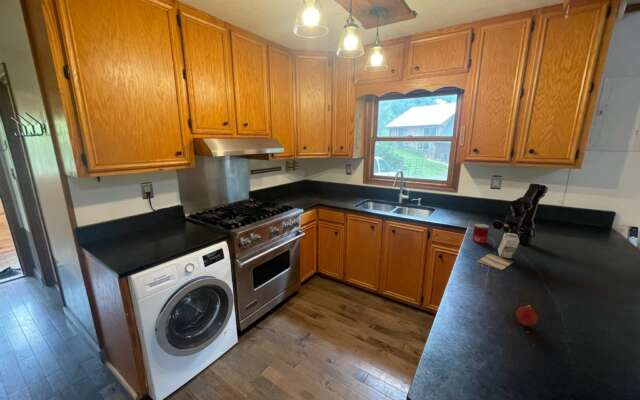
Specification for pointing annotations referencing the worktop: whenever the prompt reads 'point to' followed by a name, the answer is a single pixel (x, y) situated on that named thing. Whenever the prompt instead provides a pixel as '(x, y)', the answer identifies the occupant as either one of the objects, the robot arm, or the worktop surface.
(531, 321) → the onion
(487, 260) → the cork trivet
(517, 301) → the worktop surface
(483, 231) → the canned food
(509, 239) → the syrup box
